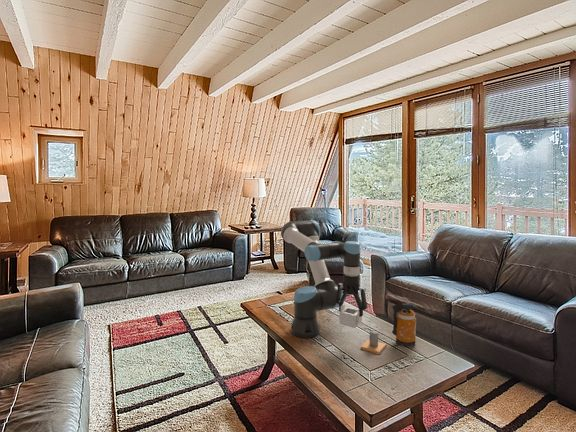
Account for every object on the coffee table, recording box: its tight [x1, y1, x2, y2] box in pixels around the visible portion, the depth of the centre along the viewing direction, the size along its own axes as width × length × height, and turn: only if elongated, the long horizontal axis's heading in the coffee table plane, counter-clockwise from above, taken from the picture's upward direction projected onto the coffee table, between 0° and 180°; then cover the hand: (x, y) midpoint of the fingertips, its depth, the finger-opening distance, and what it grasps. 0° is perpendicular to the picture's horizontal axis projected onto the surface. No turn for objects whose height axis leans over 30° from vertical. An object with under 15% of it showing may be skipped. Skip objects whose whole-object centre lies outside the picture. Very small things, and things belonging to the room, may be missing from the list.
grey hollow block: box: [338, 306, 363, 329], centre depth 165 cm, size 8×8×6 cm
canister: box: [391, 301, 417, 347], centre depth 167 cm, size 9×11×20 cm
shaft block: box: [360, 330, 387, 355], centre depth 163 cm, size 9×9×8 cm
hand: (350, 320), depth 165 cm, fingers closed on grey hollow block, 8 cm apart
